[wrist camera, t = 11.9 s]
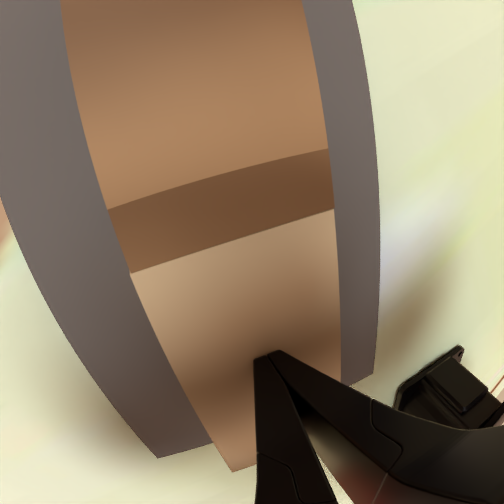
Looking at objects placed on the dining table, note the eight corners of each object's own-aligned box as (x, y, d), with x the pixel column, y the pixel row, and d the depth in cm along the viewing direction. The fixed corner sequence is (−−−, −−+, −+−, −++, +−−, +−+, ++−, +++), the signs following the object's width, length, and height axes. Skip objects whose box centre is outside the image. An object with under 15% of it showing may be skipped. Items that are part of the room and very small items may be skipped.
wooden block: (291, 186, 10) (334, 208, 8) (131, 234, 9) (131, 273, 7) (240, -62, 6) (271, -102, 4) (71, -34, 5) (56, -74, 3)
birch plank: (314, 391, 14) (339, 427, 12) (216, 430, 13) (232, 472, 11) (284, 149, 9) (328, 161, 7) (117, 196, 8) (110, 224, 6)
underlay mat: (367, 367, 16) (372, 373, 16) (156, 450, 14) (157, 458, 13) (325, -60, 7) (332, -65, 7) (-26, 8, 4) (-32, 4, 4)
